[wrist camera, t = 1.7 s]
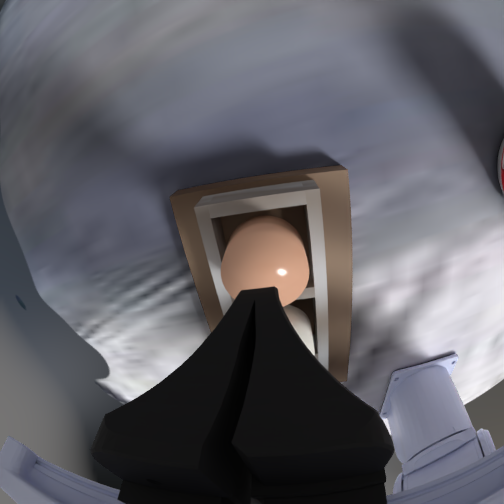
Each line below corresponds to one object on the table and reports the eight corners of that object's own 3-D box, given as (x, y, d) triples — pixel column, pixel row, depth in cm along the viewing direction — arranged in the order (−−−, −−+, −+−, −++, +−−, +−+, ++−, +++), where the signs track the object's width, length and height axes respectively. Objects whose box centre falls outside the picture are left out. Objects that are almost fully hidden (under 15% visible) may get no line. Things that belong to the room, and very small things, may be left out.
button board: (344, 368, 23) (350, 398, 20) (235, 379, 24) (231, 409, 21) (341, 165, 16) (358, 177, 12) (177, 190, 17) (156, 207, 14)
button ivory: (312, 347, 18) (315, 373, 16) (252, 353, 18) (250, 379, 16) (308, 299, 16) (313, 325, 14) (240, 307, 17) (236, 334, 15)
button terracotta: (307, 279, 15) (312, 304, 13) (235, 288, 16) (230, 313, 14) (299, 210, 14) (304, 227, 12) (220, 221, 14) (211, 240, 12)
